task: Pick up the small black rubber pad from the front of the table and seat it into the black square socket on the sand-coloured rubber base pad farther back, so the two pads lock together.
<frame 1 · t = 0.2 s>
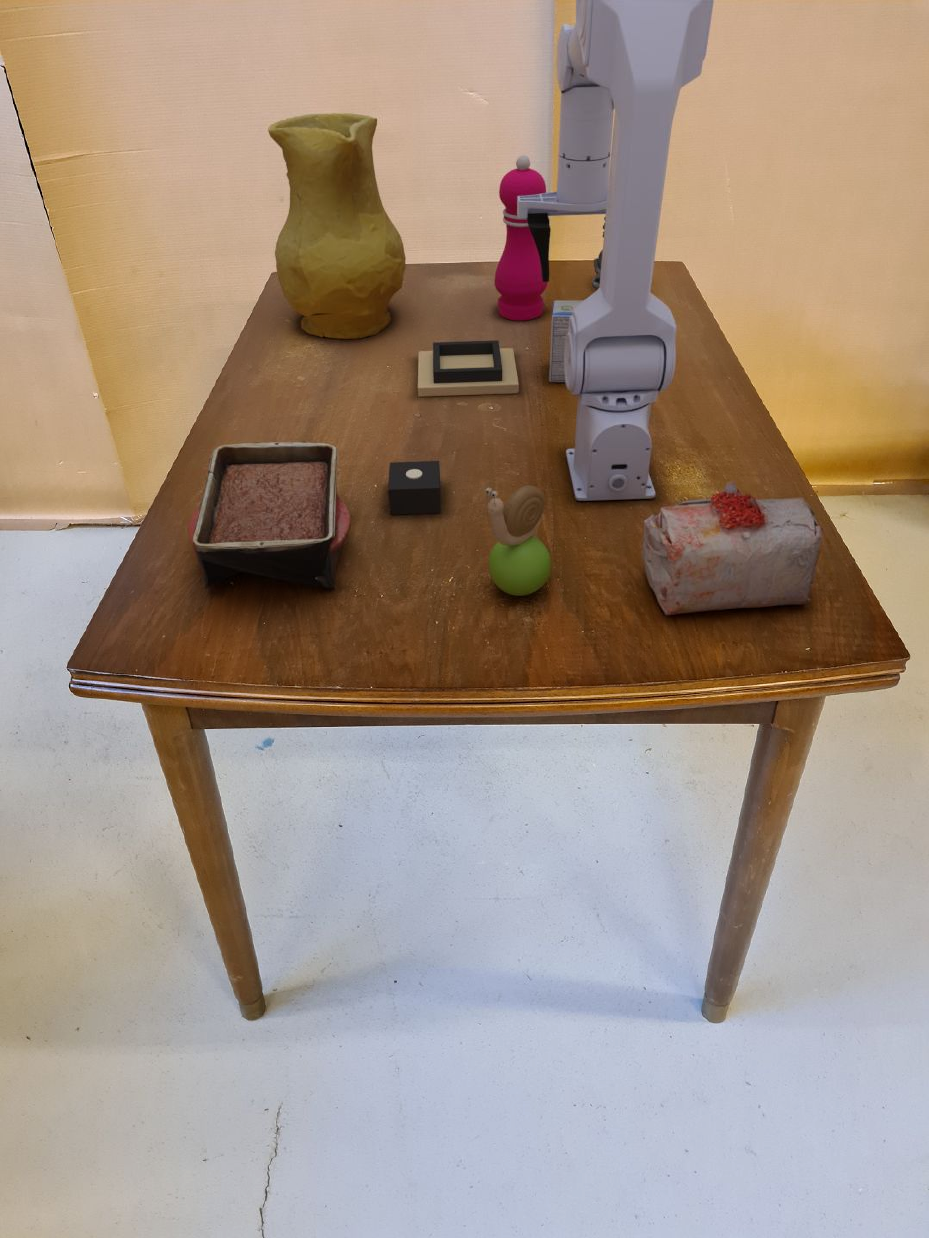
hand: (577, 278, 109), 10 cm above the table, tool pointing down, fingers open, 7 cm apart
baking dish: (277, 554, 86), on the table
base pad: (467, 376, 112), on the table
pitcher: (348, 319, 126), on the table
pepper mill: (520, 313, 126), on the table
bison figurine: (614, 293, 131), on the table
food item: (720, 592, 80), on the table
medicine box: (581, 377, 111), on the table
black pad: (415, 500, 92), on the table
snail figurine: (515, 592, 80), on the table
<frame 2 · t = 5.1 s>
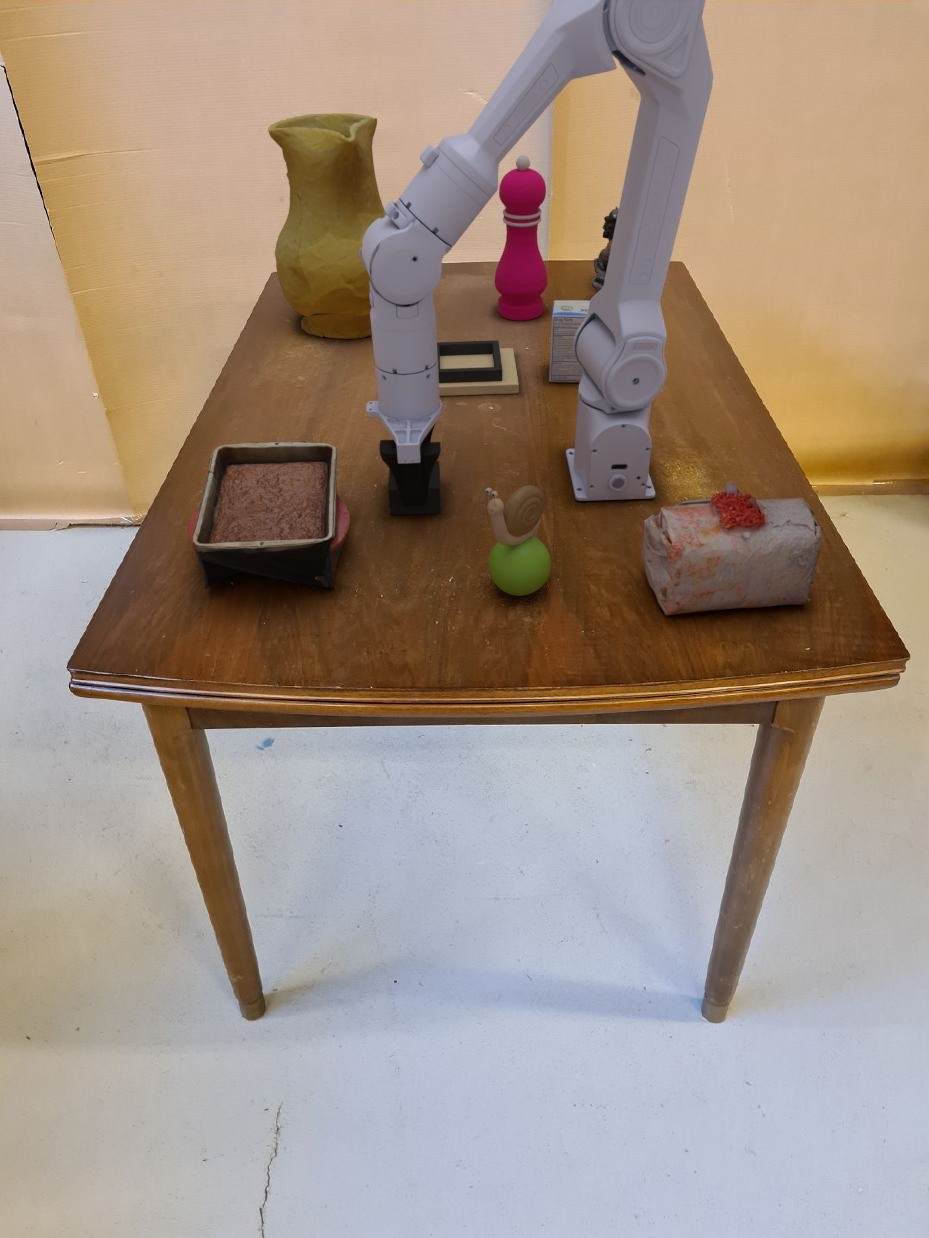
hand: (415, 488, 91), 1 cm above the table, tool pointing down, fingers closed on black pad, 5 cm apart
black pad: (415, 500, 92), on the table, touching gripper
everything else where it was.
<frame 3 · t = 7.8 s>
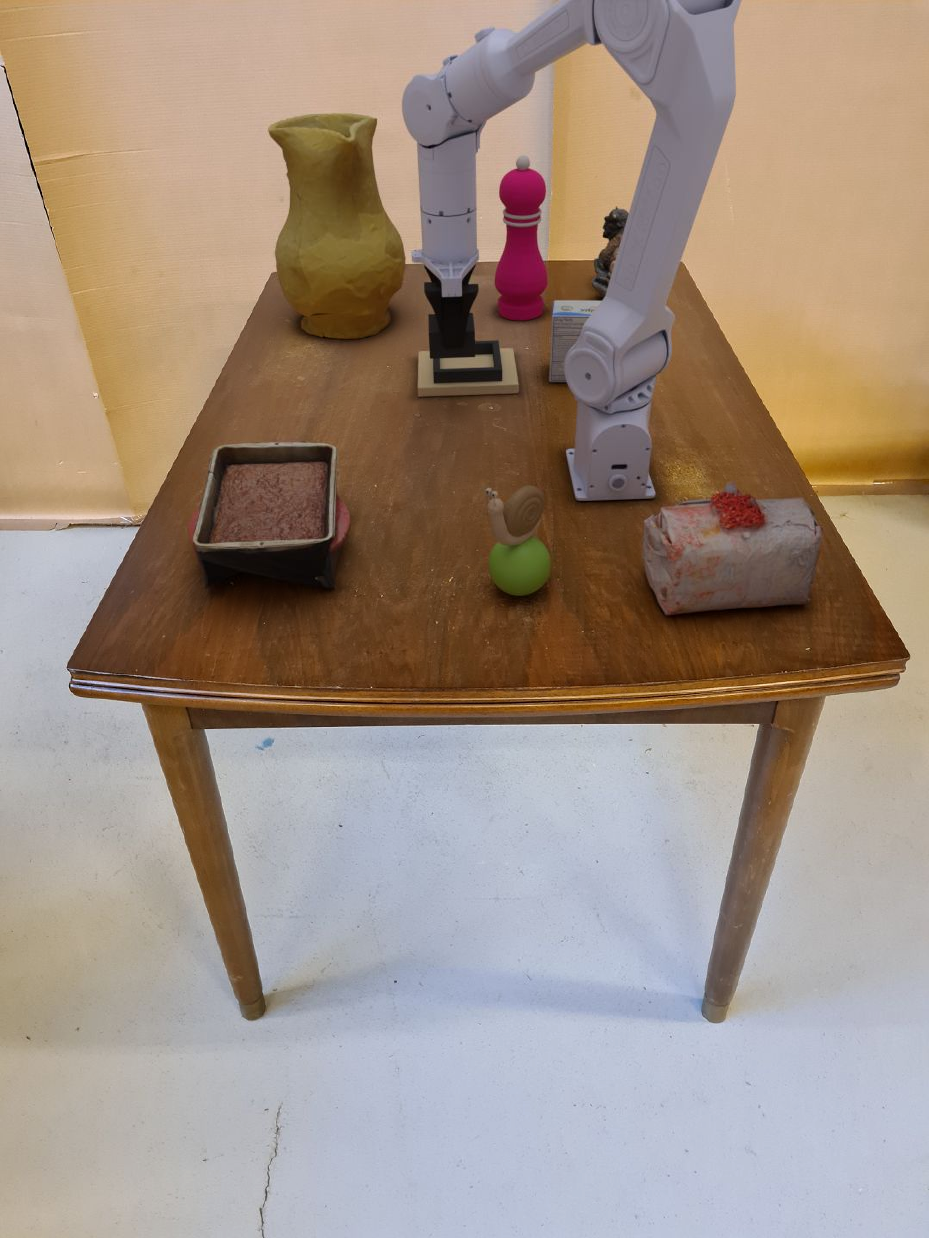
hand: (452, 336, 101), 8 cm above the table, tool pointing down, fingers closed on black pad, 5 cm apart
black pad: (452, 348, 102), point 7 cm above the table, touching gripper
everything else where it was.
when the fingers open (3 cm above the table, at t = 10.6 s): black pad stays where it is, resting on base pad.
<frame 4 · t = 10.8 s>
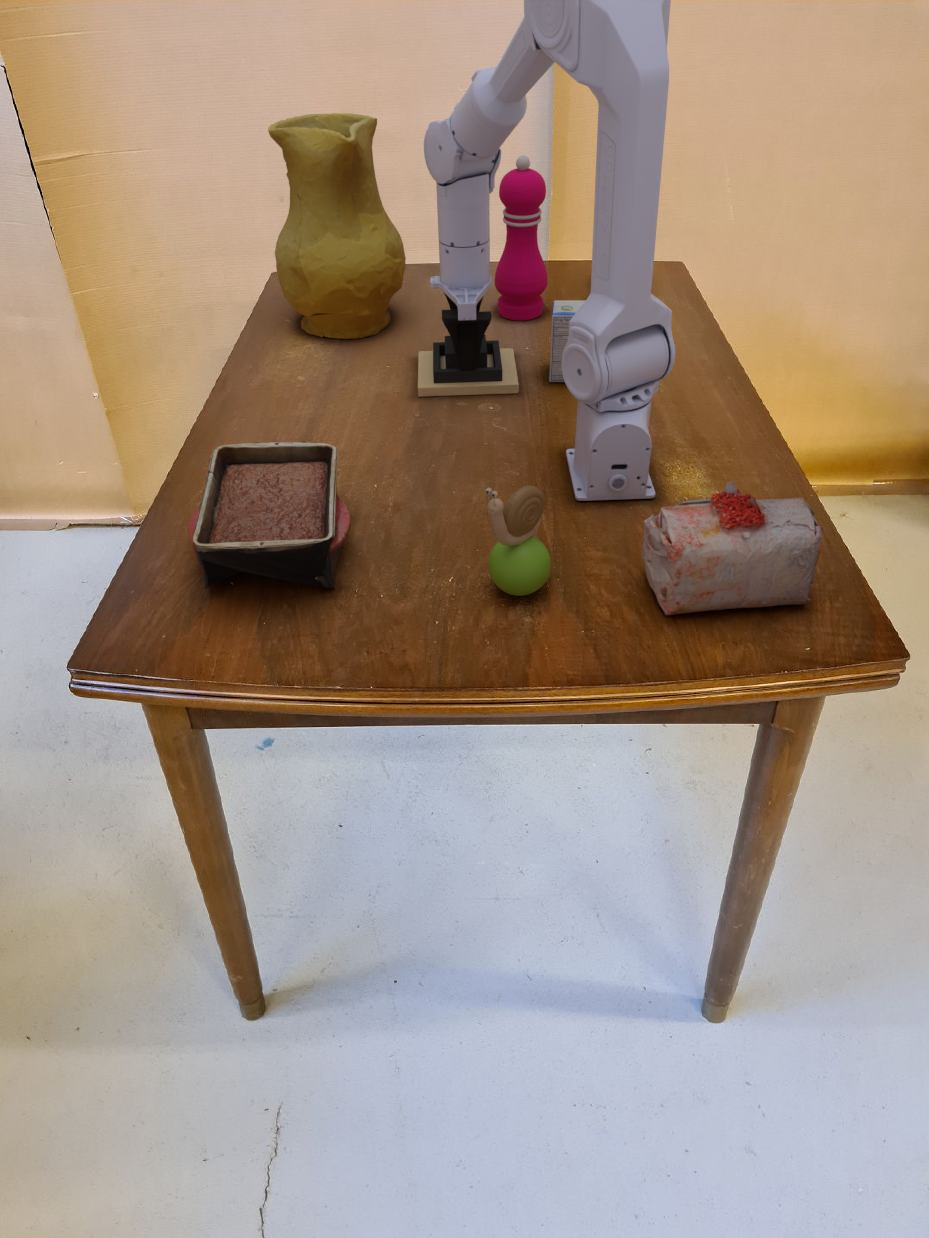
hand: (466, 354, 110), 3 cm above the table, tool pointing down, fingers open, 7 cm apart
black pad: (466, 367, 111), point 1 cm above the table, touching base pad
everything else where it was.
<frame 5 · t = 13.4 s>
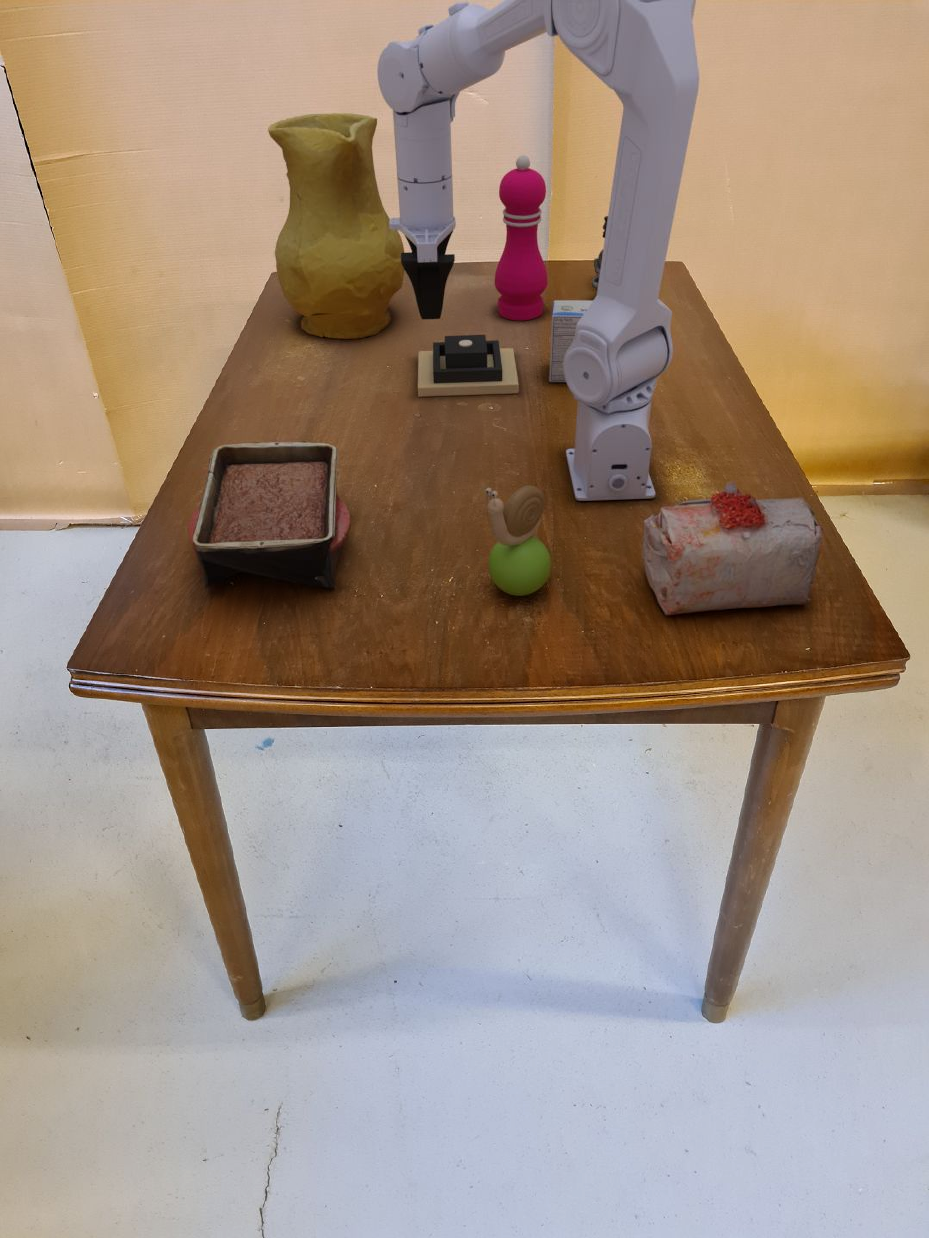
hand: (430, 304, 103), 10 cm above the table, tool pointing down, fingers open, 7 cm apart
nothing on the table moved.
at the end: black pad 0.1 cm off-centre on the base pad, point 1.2 cm above the base pad's base; black pad tilted 0° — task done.
